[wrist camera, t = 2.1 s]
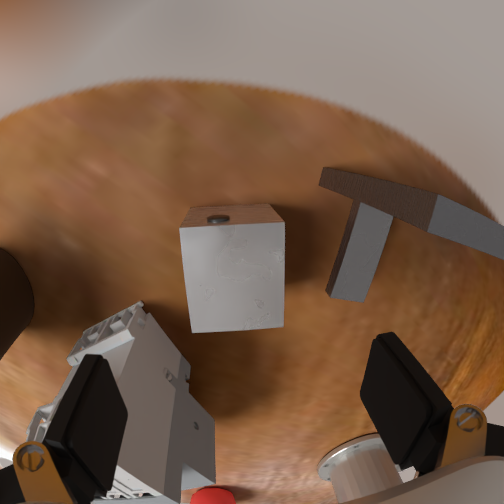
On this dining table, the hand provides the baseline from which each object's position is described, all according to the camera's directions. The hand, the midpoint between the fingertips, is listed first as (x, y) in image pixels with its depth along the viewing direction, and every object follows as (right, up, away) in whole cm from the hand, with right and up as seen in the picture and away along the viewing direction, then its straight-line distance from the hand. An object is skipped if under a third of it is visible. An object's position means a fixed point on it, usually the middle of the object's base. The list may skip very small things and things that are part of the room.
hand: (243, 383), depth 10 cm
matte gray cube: (-1, +5, +15) cm, 15 cm away
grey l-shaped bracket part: (+8, +6, +15) cm, 18 cm away
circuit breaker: (-9, -7, +18) cm, 22 cm away
